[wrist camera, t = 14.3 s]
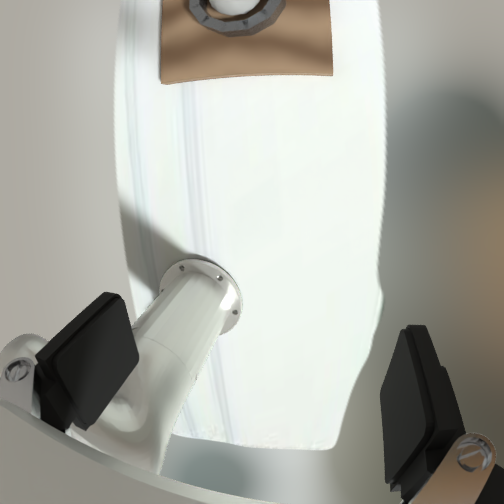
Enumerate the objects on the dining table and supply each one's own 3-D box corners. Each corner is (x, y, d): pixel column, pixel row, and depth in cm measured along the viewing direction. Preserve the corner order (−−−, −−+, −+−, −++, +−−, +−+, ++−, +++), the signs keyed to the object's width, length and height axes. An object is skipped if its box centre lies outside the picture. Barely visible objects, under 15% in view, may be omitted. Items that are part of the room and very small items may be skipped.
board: (332, 76, 29) (333, 74, 28) (166, 84, 33) (161, 83, 32) (322, -58, 21) (322, -63, 20) (170, -39, 26) (166, -44, 24)
